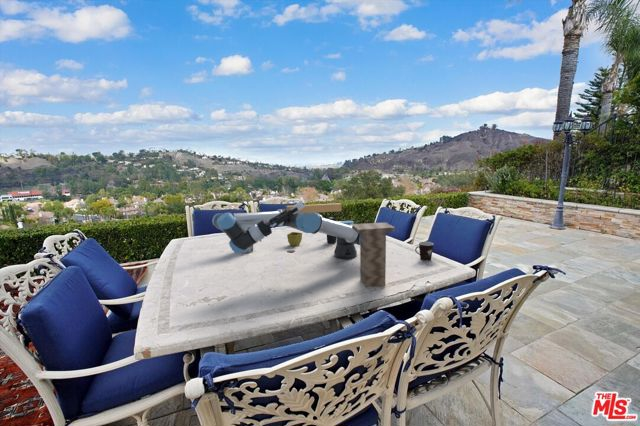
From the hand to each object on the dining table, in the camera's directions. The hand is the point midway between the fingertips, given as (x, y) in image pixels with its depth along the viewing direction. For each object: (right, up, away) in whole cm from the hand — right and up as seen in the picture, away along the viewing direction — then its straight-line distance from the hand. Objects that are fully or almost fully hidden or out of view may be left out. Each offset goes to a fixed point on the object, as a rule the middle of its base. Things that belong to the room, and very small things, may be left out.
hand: (302, 203), depth 135 cm
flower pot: (-11, -29, +83) cm, 88 cm away
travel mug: (+17, -27, +86) cm, 92 cm away
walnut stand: (+35, -40, +12) cm, 55 cm away
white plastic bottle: (-45, -32, +71) cm, 90 cm away
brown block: (+5, -4, +1) cm, 7 cm away
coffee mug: (+73, -33, +45) cm, 92 cm away
